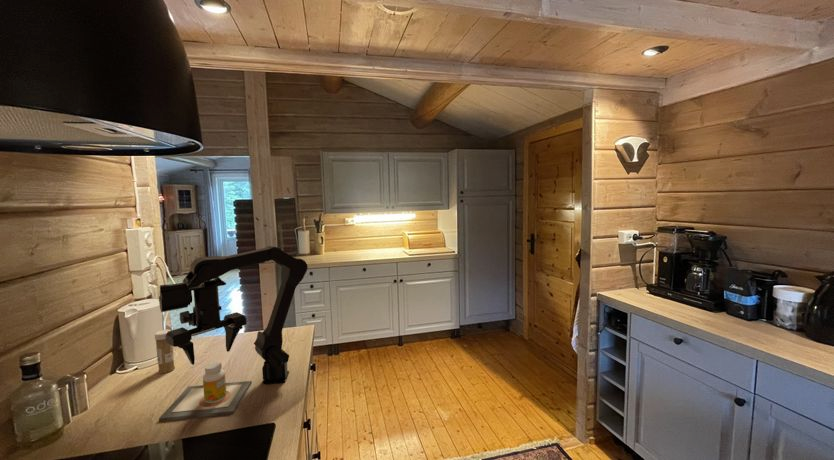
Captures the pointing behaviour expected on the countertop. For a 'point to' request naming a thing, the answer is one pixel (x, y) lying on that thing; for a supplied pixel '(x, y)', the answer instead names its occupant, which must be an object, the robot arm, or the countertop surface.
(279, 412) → the countertop surface
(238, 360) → the countertop surface
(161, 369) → the sprinkles bottle
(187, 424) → the countertop surface
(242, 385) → the grey bordered rectangular panel
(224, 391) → the supplement bottle
